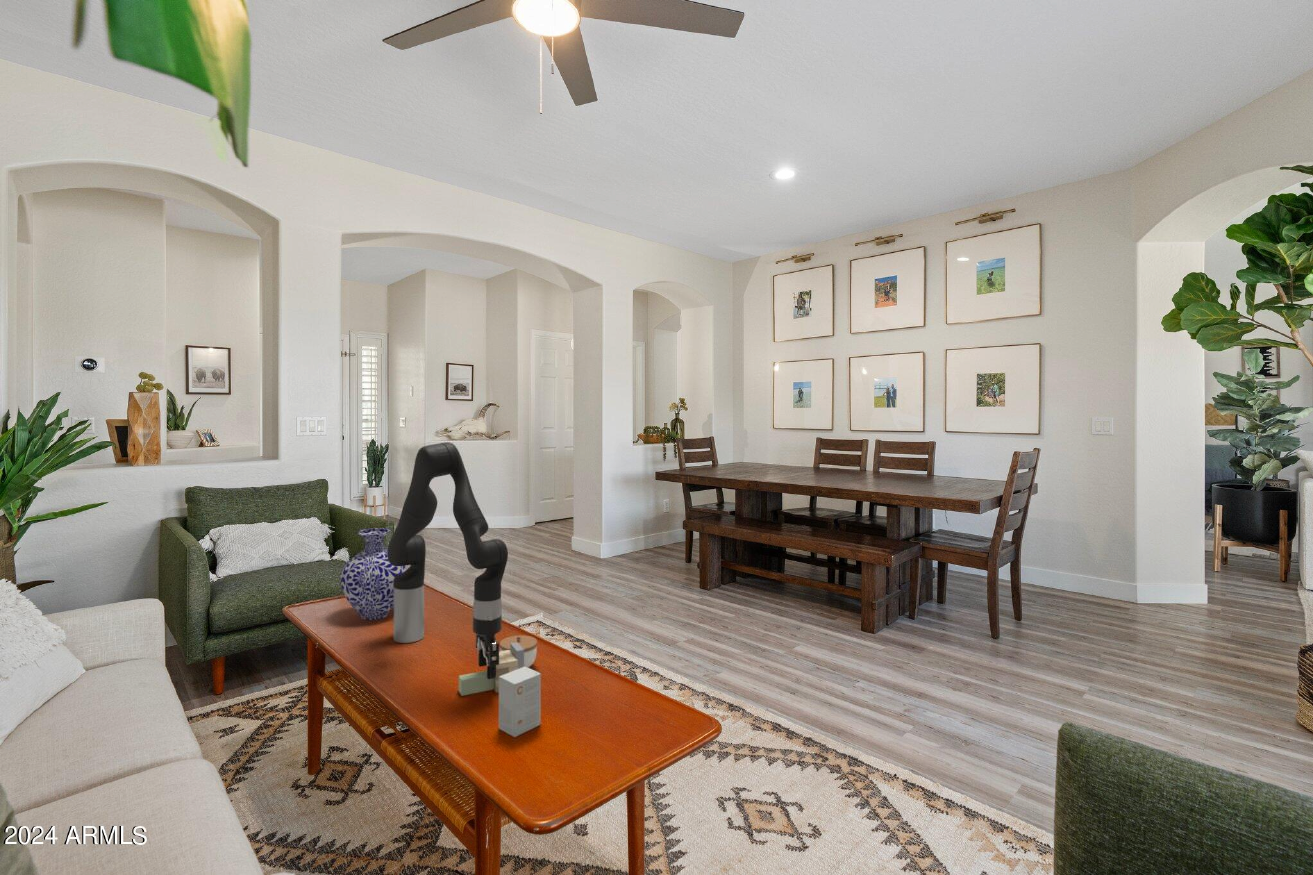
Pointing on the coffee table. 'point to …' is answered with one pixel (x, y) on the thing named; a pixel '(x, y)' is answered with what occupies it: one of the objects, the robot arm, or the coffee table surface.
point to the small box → (519, 701)
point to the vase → (370, 577)
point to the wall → (518, 653)
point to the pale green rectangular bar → (475, 683)
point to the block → (504, 666)
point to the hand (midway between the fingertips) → (486, 671)
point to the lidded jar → (526, 643)
